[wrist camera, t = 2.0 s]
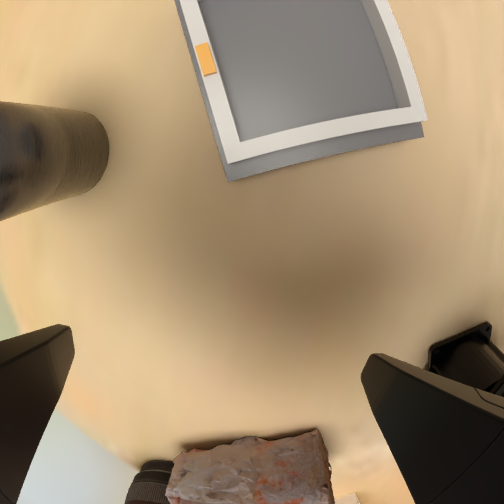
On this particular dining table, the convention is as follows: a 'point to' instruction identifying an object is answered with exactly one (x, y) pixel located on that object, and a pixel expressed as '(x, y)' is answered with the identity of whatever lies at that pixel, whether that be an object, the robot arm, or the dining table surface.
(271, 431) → the dining table surface
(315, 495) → the weathered brick
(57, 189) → the dark tapered cup
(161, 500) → the camera lens
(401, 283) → the dining table surface
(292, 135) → the shallow square tray
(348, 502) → the milk
